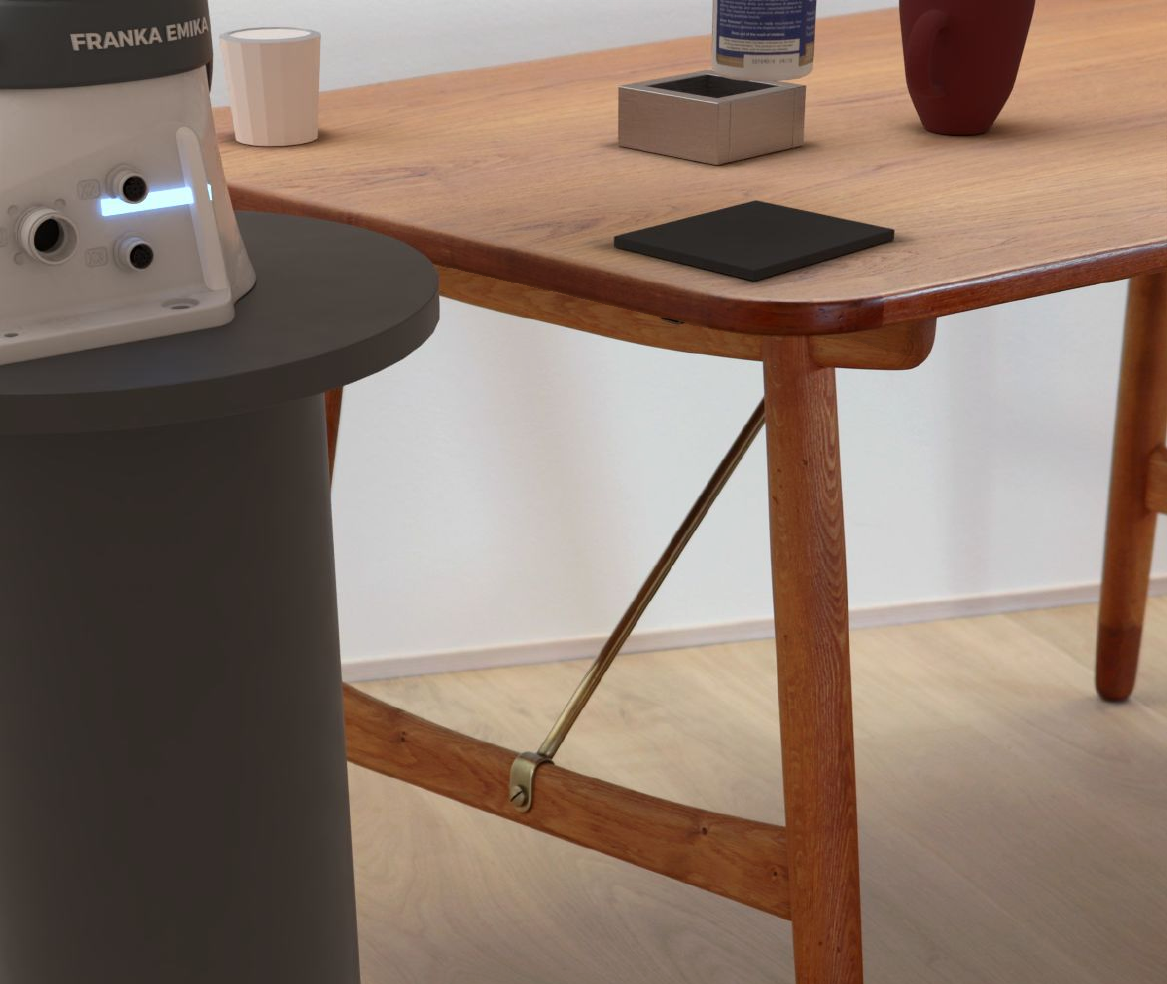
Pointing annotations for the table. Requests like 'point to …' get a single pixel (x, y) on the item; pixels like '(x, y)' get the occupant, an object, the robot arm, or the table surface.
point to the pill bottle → (763, 39)
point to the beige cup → (273, 84)
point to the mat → (754, 239)
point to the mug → (962, 59)
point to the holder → (711, 117)
